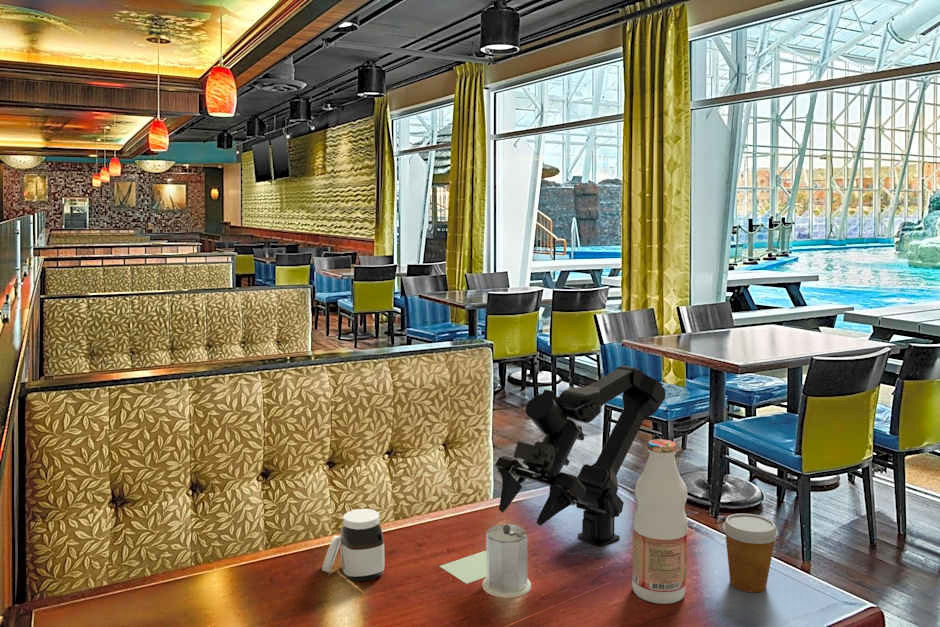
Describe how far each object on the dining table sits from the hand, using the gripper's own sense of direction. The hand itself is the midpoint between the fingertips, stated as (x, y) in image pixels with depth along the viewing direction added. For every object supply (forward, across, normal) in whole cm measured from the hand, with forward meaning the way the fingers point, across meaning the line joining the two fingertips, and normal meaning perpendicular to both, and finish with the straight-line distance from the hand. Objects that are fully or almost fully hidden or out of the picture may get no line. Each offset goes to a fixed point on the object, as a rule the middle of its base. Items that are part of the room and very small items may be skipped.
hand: (519, 517), depth 140 cm
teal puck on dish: (+11, 0, +6) cm, 13 cm away
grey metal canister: (+11, 0, +6) cm, 12 cm away
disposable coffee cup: (-11, +32, +29) cm, 44 cm away
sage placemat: (+9, -9, +9) cm, 15 cm away
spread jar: (+23, -25, -5) cm, 34 cm away
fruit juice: (-1, +21, +19) cm, 28 cm away
